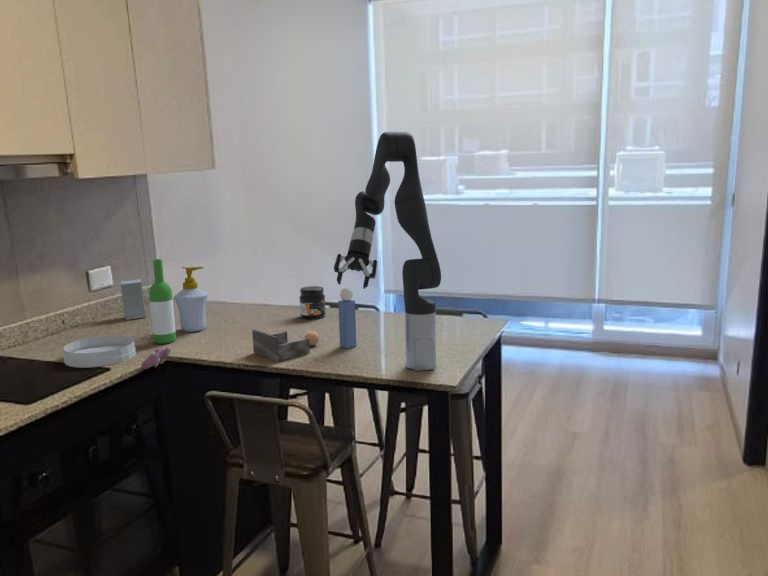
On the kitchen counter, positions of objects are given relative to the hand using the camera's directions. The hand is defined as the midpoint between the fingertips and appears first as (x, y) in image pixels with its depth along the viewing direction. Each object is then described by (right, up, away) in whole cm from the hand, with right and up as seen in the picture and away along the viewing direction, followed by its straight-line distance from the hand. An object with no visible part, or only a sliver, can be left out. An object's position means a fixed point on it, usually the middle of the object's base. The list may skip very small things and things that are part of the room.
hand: (351, 285), depth 215 cm
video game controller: (-61, -26, -11) cm, 67 cm away
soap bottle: (-63, -17, +33) cm, 73 cm away
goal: (-23, -22, -1) cm, 32 cm away
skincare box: (-94, -13, +56) cm, 110 cm away
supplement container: (-18, -13, +50) cm, 55 cm away
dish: (-84, -24, 0) cm, 87 cm away
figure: (-1, -21, +5) cm, 22 cm away
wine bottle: (-68, -20, +17) cm, 73 cm away
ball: (-14, -21, +7) cm, 26 cm away
